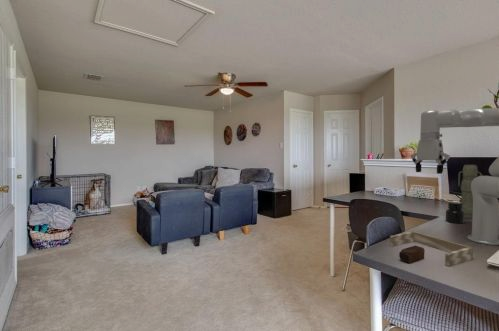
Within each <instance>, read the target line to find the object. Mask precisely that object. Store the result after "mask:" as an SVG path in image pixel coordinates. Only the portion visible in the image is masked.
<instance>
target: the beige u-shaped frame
mask: <svg viewBox="0 0 499 331" xmlns="http://www.w3.org/2000/svg"><path fill="white" fill-rule="evenodd" d="M413 242H415V243H417V244H421V245H424V246H428V247H431V248H434V249H437V250H440V251H444V252H445V256H444V265H445V266H446V267H452V266H454V265H458V264H461V263H463V262H467V261H470V260H473V259H474V247H472V246H468V245H465V244H461V243H458V242H453V241H449V240H447V239H443V238H440V237H436V236H432V235H428V234H424V233H421V232H418V231H407V232H404V233H403V232H402V233H398V234H394V235H393V234H392V235H390V236H389V246H390V247H394V246H400V244H401V245H404V244H409V243H413Z"/></svg>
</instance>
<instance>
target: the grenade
mask: <svg viewBox="0 0 499 331" xmlns="http://www.w3.org/2000/svg"><path fill="white" fill-rule="evenodd" d="M457 174H458V175H457V176H458V180H457V181H458V182H457V186H458V187H460V191H461V199H460V200H461V202H460V203H462V211H463V212H464V219H471V220H472V215H473V195H472V190H471V183H472V181H473V179H475V178H476V177H479V176H483V173H482V172H480V171H479V170H478V165H477V164H464V165H463V168H462V170H461V171H459V172H458V173H457ZM461 174H462V179H461ZM478 174H479V175H478Z"/></svg>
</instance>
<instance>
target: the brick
mask: <svg viewBox="0 0 499 331" xmlns="http://www.w3.org/2000/svg"><path fill="white" fill-rule="evenodd" d="M424 248H425V247H422V246H418V245H412V246H408V247H406V248H402V249H401V250H400V251H399V253H398V257H399V261H401V262H404V263H406V264H414V263H416V262H418V261H419V262H420V261H421V260H424V259H425V249H424Z"/></svg>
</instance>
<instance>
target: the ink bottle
mask: <svg viewBox="0 0 499 331" xmlns="http://www.w3.org/2000/svg"><path fill="white" fill-rule="evenodd" d="M447 208H448V209H446V210H445V221H446V222H447V223H451V224H464V223H465V218H464V212H463V211H462V203H461V202H459V201H448V202H447Z"/></svg>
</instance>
